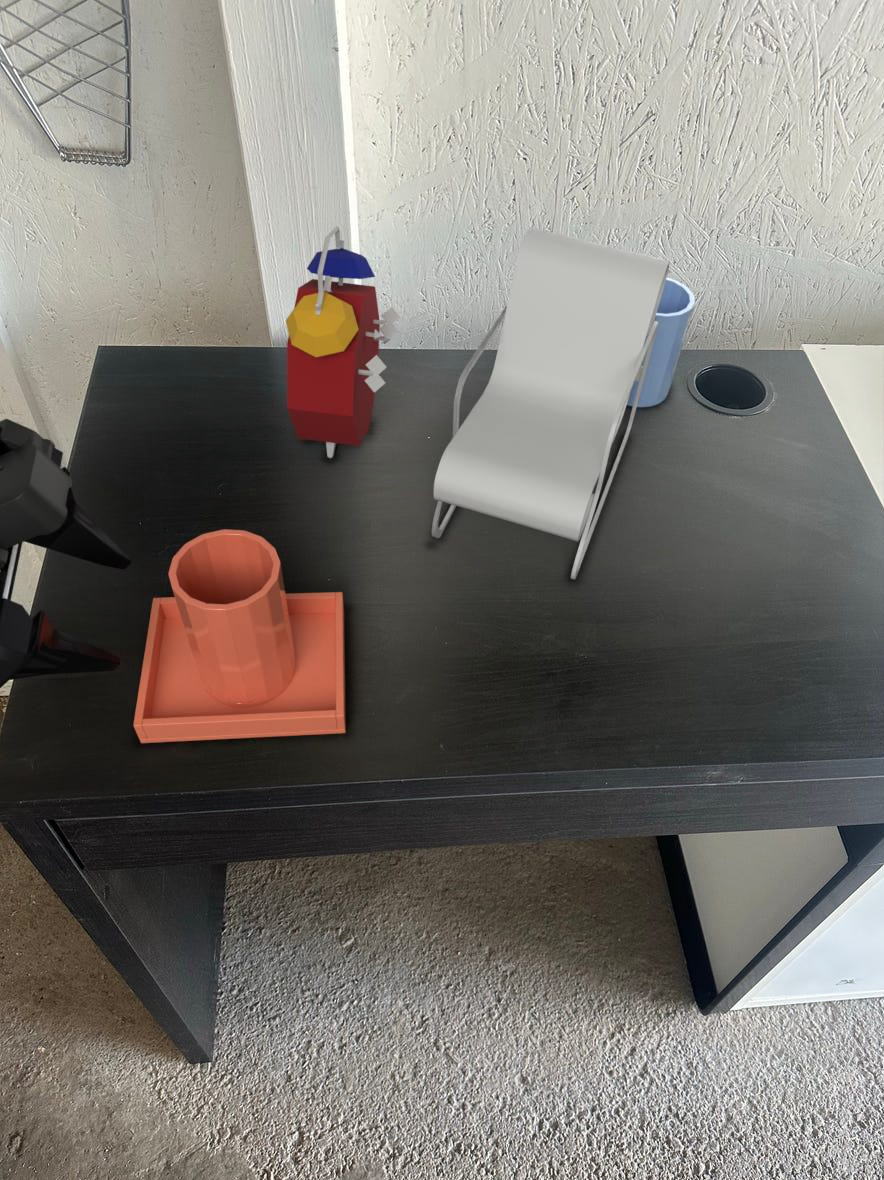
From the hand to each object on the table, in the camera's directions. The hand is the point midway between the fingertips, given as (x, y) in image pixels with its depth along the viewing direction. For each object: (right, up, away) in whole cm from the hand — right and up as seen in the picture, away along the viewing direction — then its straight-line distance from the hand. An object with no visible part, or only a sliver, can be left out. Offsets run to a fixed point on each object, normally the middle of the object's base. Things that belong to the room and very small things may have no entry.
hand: (123, 613), depth 63 cm
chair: (+31, +13, +24) cm, 41 cm away
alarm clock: (+12, +20, +27) cm, 36 cm away
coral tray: (+7, -5, +8) cm, 11 cm away
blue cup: (+42, +26, +35) cm, 61 cm away
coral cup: (+7, -4, +8) cm, 11 cm away
